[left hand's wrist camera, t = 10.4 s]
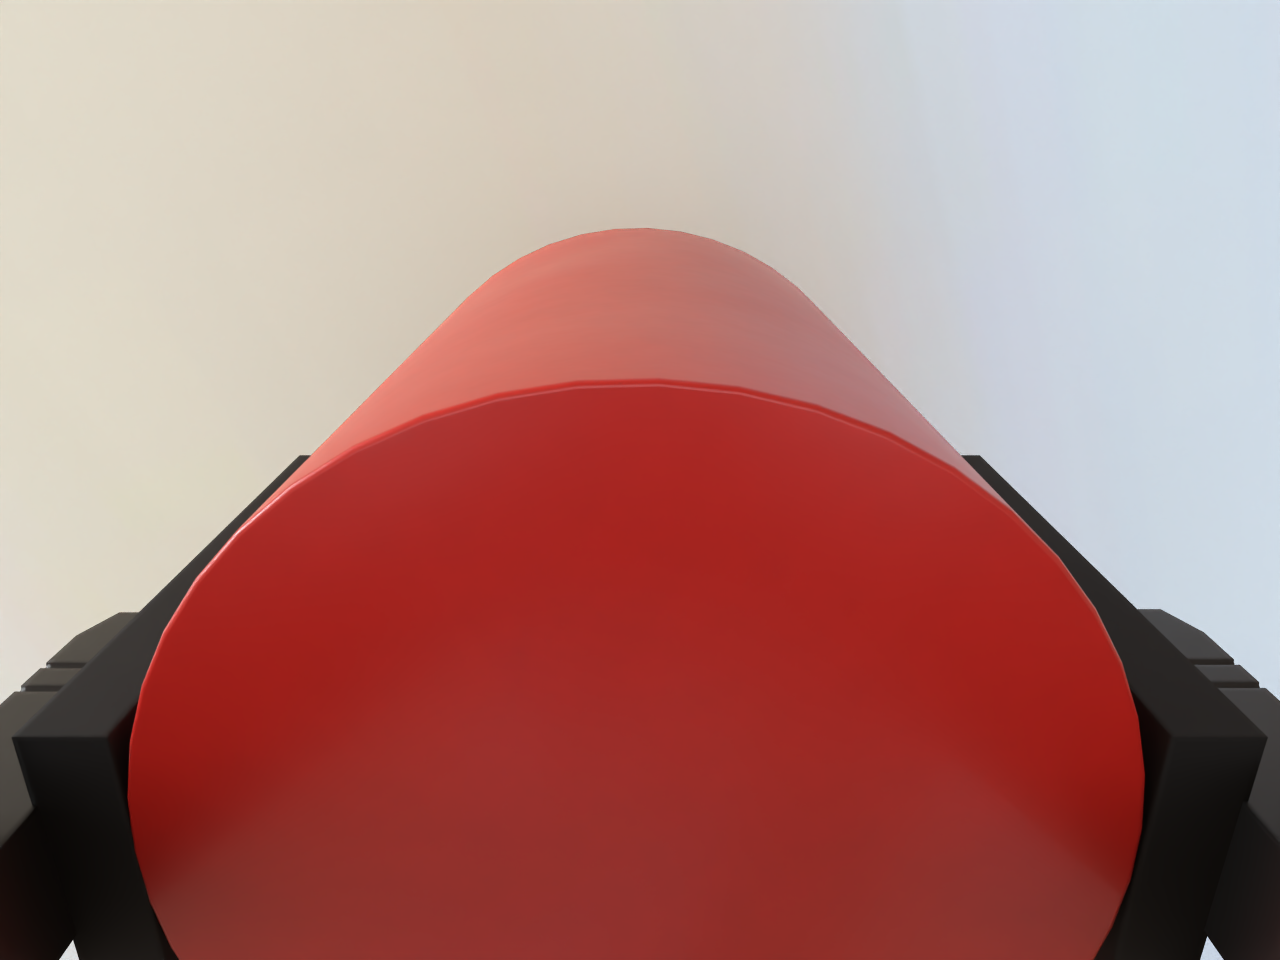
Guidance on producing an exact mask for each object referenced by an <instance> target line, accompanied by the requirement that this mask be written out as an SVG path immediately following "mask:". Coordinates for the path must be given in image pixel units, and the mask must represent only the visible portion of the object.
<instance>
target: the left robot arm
mask: <svg viewBox="0 0 1280 960" xmlns="http://www.w3.org/2000/svg"><path fill="white" fill-rule="evenodd" d="M310 456H311V455H300V456H299V457H298V458H297V459H296V460H295V461H293V462H292V463H291V464H290V465H289V466H288V467H287V468H286V469H285V470H284V471H283V472H282V473H281V474H280V475H279V476H278V477H277V478H276V479H275V480H274V481H273V482H272V483H271V484H270V485H269V486H268V487H267V488H266V489H265V490H264V491H263V492H262V493H261V494H260V495H259V496H258V497H257V498H256V499H255V500H254V501H253V502H252V503H250V504H249V505H248V506H247V507H246V508H245V509H244V510H243V511H242V512H241V513H240V514H239V515H238V516H237V517H236V518H235V519H234V520H233V521H232V522H231V523H230V524H229V525H228V526H227V527H226V528H225V529H224V530H223V531H222V532H221V533H220V534H219V535H218V536H217V537H216V538H215V539H214V540H213V541H212V542H211V543H210V544H209V545H207V546H206V547H205V548H204V549H203V550H202V551H201V552H200V553H199V554H198V555H197V556H196V557H195V558H194V559H193V560H192V561H191V562H190V563H189V564H188V565H187V566H186V567H185V568H184V569H183V570H182V571H181V572H180V573H179V574H178V575H177V576H176V577H175V578H174V579H173V580H172V581H171V582H170V583H169V584H168V585H167V586H166V587H164V588H163V589H162V590H161V591H160V592H159V593H158V594H157V595H156V596H155V597H154V598H153V599H152V600H151V601H150V602H149V603H148V604H147V605H146V606H145V607H144V608H143V609H142V610H141V611H140V612H139V613H118V614H116V615H114V616H112V617H110V618H108V619H106V620H105V621H103V622H101V623H99V624H97V625H95V626H93V627H92V628H90V629H88V630H86V631H84V632H82V633H80V634H79V635H77V636H75V637H74V638H73V639H72V640H71V641H70V642H69V643H68V644H67V645H66V646H64V647H63V648H62V649H61V650H60V651H59V652H58V653H57V654H56V655H55V656H53V657H52V658H51V659H50V660H49V661H48V662H47V663H46V668H40V669H39V670H38V671H37V672H36V673H35V674H34V675H33V676H31V677H30V678H29V679H28V680H27V681H26V682H25V683H24V684H23V685H22V686H21V691H20V692H14V693H13V694H12V695H11V696H9V697H8V698H7V699H6V700H5V701H4V702H3V703H2V704H1V705H0V960H59V959H60V958H61V956H62V955H63V953H64V952H65V950H66V949H67V948H68V946H69V945H70V943H71V942H72V940H73V941H74V944H75V947H76V951H77V954H78V957H79V960H179V959H178V957H177V956H176V954H175V953H174V951H173V950H172V948H171V946H170V944H169V942H168V940H167V938H166V936H165V934H164V931H163V929H162V927H161V925H160V923H159V921H158V919H157V917H156V914H155V912H154V910H153V908H152V906H151V904H150V901H149V897H148V894H147V890H146V887H145V883H144V880H143V877H142V873H141V870H140V866H139V863H138V860H137V856H136V853H135V848H134V840H133V835H132V830H131V822H130V814H129V807H128V799H127V795H128V770H129V745H130V738H131V733H132V729H133V724H134V719H135V715H136V710H137V705H138V701H139V696H140V691H141V687H142V684H143V681H144V679H145V676H146V674H147V671H148V669H149V666H150V664H151V661H152V659H153V656H154V654H155V651H156V649H157V646H158V644H159V641H160V639H161V636H162V634H163V631H164V629H165V628H166V626H167V625H168V623H169V621H170V620H171V618H172V616H173V615H174V613H175V611H176V610H177V608H178V607H179V605H180V603H181V602H182V600H183V598H184V597H185V595H186V593H187V592H188V590H189V589H190V587H191V585H192V584H193V582H194V580H195V579H196V577H197V576H198V575H199V574H200V573H201V572H202V570H203V569H204V568H205V567H206V566H207V565H208V563H209V562H210V561H211V560H212V559H213V558H214V557H215V555H216V554H217V553H218V552H219V551H220V550H221V548H222V547H223V546H224V545H225V544H226V543H227V541H228V540H229V539H230V538H231V537H232V536H233V534H234V533H235V532H236V531H237V530H238V529H239V528H240V527H241V526H242V525H243V524H244V523H245V522H246V521H247V520H248V519H249V518H250V517H251V516H252V515H253V514H254V513H255V512H256V510H257V509H258V508H259V507H260V506H261V505H262V504H263V503H264V502H265V501H266V500H267V499H268V498H269V497H270V496H271V495H272V494H273V493H274V492H275V491H276V490H277V489H278V488H279V487H280V486H281V485H282V484H283V483H284V482H285V481H286V480H287V479H288V478H289V477H290V476H291V475H292V474H293V473H294V472H295V471H296V470H297V469H298V468H299V467H300V466H301V465H302V464H303V463H304V462H305V461H306V460H307V459H308V458H309V457H310ZM961 456H962V457H963V458H964V459H965V460H966V461H967V462H968V463H969V464H970V466H971V467H972V468H973V469H974V470H975V471H976V472H977V473H978V474H979V475H980V476H981V477H982V478H983V479H984V480H985V481H986V482H987V483H988V484H989V485H990V486H991V487H992V488H993V489H994V490H995V491H996V492H997V493H998V494H999V495H1000V497H1001V498H1002V499H1003V500H1004V501H1005V502H1006V503H1007V504H1008V505H1009V506H1010V507H1011V508H1012V509H1013V510H1014V511H1015V512H1016V513H1017V514H1018V515H1019V516H1020V517H1021V518H1022V519H1023V520H1024V521H1025V522H1026V523H1027V524H1028V525H1029V526H1030V528H1031V529H1032V530H1033V531H1034V532H1035V533H1036V534H1037V535H1038V536H1039V537H1040V538H1041V539H1042V540H1043V541H1044V542H1045V543H1046V544H1047V545H1048V546H1049V547H1050V548H1051V549H1052V550H1053V551H1054V552H1055V553H1056V554H1057V555H1058V556H1059V558H1060V559H1061V561H1062V562H1063V563H1064V565H1065V566H1066V568H1067V569H1068V570H1069V572H1070V573H1071V575H1072V576H1073V577H1074V579H1075V580H1076V582H1077V583H1078V584H1079V586H1080V587H1081V589H1082V590H1083V591H1084V593H1085V594H1086V596H1087V597H1088V598H1089V600H1090V601H1091V603H1092V604H1093V605H1094V607H1095V608H1096V610H1097V612H1098V614H1099V616H1100V618H1101V620H1102V622H1103V624H1104V626H1105V628H1106V631H1107V633H1108V635H1109V637H1110V639H1111V641H1112V643H1113V645H1114V647H1115V649H1116V651H1117V653H1118V655H1119V657H1120V659H1121V661H1122V664H1123V667H1124V671H1125V674H1126V677H1127V681H1128V684H1129V688H1130V691H1131V694H1132V698H1133V701H1134V704H1135V708H1136V711H1137V715H1138V720H1139V728H1140V737H1141V745H1142V754H1143V762H1144V771H1145V783H1144V802H1143V821H1142V831H1141V836H1140V840H1139V845H1138V849H1137V854H1136V858H1135V863H1134V867H1133V872H1132V876H1131V880H1130V883H1129V885H1128V888H1127V891H1126V893H1125V896H1124V898H1123V901H1122V903H1121V906H1120V908H1119V911H1118V914H1117V916H1116V919H1115V921H1114V924H1113V926H1112V929H1111V930H1110V932H1109V934H1108V936H1107V937H1106V939H1105V941H1104V943H1103V944H1102V946H1101V948H1100V950H1099V951H1098V953H1097V955H1096V957H1095V958H1094V960H1200V958H1201V955H1202V952H1203V948H1204V945H1205V942H1206V938H1207V936H1208V938H1209V939H1210V941H1211V942H1212V943H1213V945H1214V946H1215V948H1216V949H1217V951H1218V952H1219V953H1220V955H1221V956H1222V958H1223V959H1224V960H1280V701H1279V700H1278V699H1277V698H1276V697H1275V696H1274V695H1273V694H1272V693H1270V692H1269V691H1268V690H1267V689H1266V688H1260V687H1259V682H1258V681H1257V680H1256V679H1255V678H1254V677H1253V676H1252V675H1250V674H1249V673H1248V672H1247V671H1246V670H1245V669H1244V668H1243V667H1242V666H1240V665H1234V659H1233V658H1232V657H1231V656H1229V655H1228V654H1227V653H1226V652H1225V651H1224V650H1223V649H1222V648H1221V647H1219V646H1218V645H1217V644H1216V643H1215V642H1214V641H1213V640H1212V639H1211V638H1209V637H1208V636H1207V635H1206V634H1205V633H1204V632H1202V631H1200V630H1198V629H1196V628H1195V627H1193V626H1191V625H1189V624H1187V623H1185V622H1183V621H1181V620H1180V619H1178V618H1176V617H1174V616H1172V615H1170V614H1168V613H1166V612H1165V611H1163V610H1161V609H1136V608H1135V607H1134V606H1133V605H1132V604H1131V603H1130V602H1129V601H1128V600H1127V599H1126V598H1125V597H1124V596H1123V595H1122V594H1121V593H1120V592H1119V591H1118V590H1117V589H1116V588H1115V587H1114V586H1113V585H1112V584H1111V583H1110V582H1109V581H1108V580H1107V579H1106V578H1105V577H1104V576H1103V575H1102V574H1101V573H1099V572H1098V571H1097V570H1096V569H1095V568H1094V567H1093V566H1092V565H1091V564H1090V563H1089V562H1088V561H1087V560H1086V559H1085V558H1084V557H1083V556H1082V555H1081V554H1080V553H1079V552H1078V551H1077V550H1076V549H1075V548H1074V547H1073V546H1072V545H1071V544H1070V543H1069V542H1068V541H1067V540H1066V539H1065V538H1064V537H1063V536H1062V535H1061V534H1060V533H1059V532H1058V531H1057V530H1055V529H1054V528H1053V527H1052V526H1051V525H1050V524H1049V523H1048V522H1047V521H1046V520H1045V519H1044V518H1043V517H1042V516H1041V515H1040V514H1039V513H1038V512H1037V511H1036V510H1035V509H1034V508H1033V507H1032V506H1031V505H1030V504H1029V503H1028V502H1027V501H1026V500H1025V499H1024V498H1023V497H1022V496H1021V495H1020V494H1019V493H1018V492H1017V491H1016V490H1015V489H1014V488H1012V487H1011V486H1010V485H1009V484H1008V483H1007V482H1006V481H1005V480H1004V479H1003V478H1002V477H1001V476H1000V475H999V474H998V473H997V472H996V471H995V470H994V469H993V468H992V467H991V466H990V465H989V464H988V463H987V462H986V461H985V460H984V459H983V458H982V457H981V456H980V455H961Z"/></svg>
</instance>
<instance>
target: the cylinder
mask: <svg viewBox="0 0 1280 960" xmlns="http://www.w3.org/2000/svg"><path fill="white" fill-rule="evenodd" d="M1144 783H1145V771H1144V762H1143V754H1142V745H1141V737H1140V728H1139V720H1138V715H1137V711H1136V708H1135V704H1134V701H1133V698H1132V694H1131V691H1130V688H1129V684H1128V681H1127V677H1126V674H1125V671H1124V667H1123V664H1122V661H1121V659H1120V657H1119V655H1118V653H1117V651H1116V649H1115V647H1114V645H1113V643H1112V641H1111V639H1110V637H1109V635H1108V633H1107V631H1106V628H1105V626H1104V624H1103V622H1102V620H1101V618H1100V616H1099V614H1098V612H1097V610H1096V608H1095V607H1094V605H1093V604H1092V603H1091V601H1090V600H1089V598H1088V597H1087V596H1086V594H1085V593H1084V591H1083V590H1082V589H1081V587H1080V586H1079V584H1078V583H1077V582H1076V580H1075V579H1074V577H1073V576H1072V575H1071V573H1070V572H1069V570H1068V569H1067V568H1066V566H1065V565H1064V563H1063V562H1062V561H1061V559H1060V558H1059V556H1058V555H1057V554H1056V553H1055V552H1054V551H1053V550H1052V549H1051V548H1050V547H1049V546H1048V545H1047V544H1046V543H1045V542H1044V541H1043V540H1042V539H1041V538H1040V537H1039V536H1038V535H1037V534H1036V533H1035V532H1034V531H1033V530H1032V529H1031V528H1030V526H1029V525H1028V524H1027V523H1026V522H1025V521H1024V520H1023V519H1022V518H1021V517H1020V516H1019V515H1018V514H1017V513H1016V512H1015V511H1014V510H1013V509H1012V508H1011V507H1010V506H1009V505H1008V504H1007V503H1006V502H1005V501H1004V500H1003V499H1002V498H1001V497H1000V495H999V494H998V493H997V492H996V491H995V490H994V489H993V488H992V487H991V486H990V485H989V484H988V483H987V482H986V481H985V480H984V479H983V478H982V477H981V476H980V475H979V474H978V473H977V472H976V471H975V470H974V469H973V468H972V467H971V466H970V464H969V463H968V462H967V461H966V460H965V459H964V458H963V457H962V456H961V455H960V454H959V453H958V452H957V451H956V450H955V449H954V448H953V447H952V446H951V445H950V444H949V443H948V442H947V441H946V440H945V439H944V438H943V437H942V436H941V435H940V433H939V432H938V431H937V430H936V429H935V428H934V427H933V426H932V425H931V424H930V423H929V422H928V421H927V420H926V419H925V418H924V417H923V416H922V415H921V414H920V413H919V412H918V411H917V410H916V409H915V408H914V407H913V406H912V405H911V404H910V402H909V401H908V400H907V399H906V398H905V397H904V396H903V395H902V394H901V393H900V392H899V391H898V390H897V389H896V388H895V387H894V386H893V385H892V384H891V383H890V382H889V381H888V380H887V379H886V378H885V377H884V376H883V375H882V374H881V373H880V371H879V370H878V369H877V368H876V367H875V366H874V365H873V364H872V363H871V362H870V361H869V360H868V359H867V358H866V357H865V356H864V355H863V354H862V353H861V352H860V351H859V350H858V349H857V348H856V347H855V346H854V345H853V344H852V343H851V342H850V340H849V339H848V338H847V337H846V336H845V335H844V334H843V333H842V332H841V331H840V330H839V329H838V328H837V327H836V326H835V325H834V324H833V323H832V322H831V321H830V320H829V319H828V318H827V317H826V316H825V315H824V314H823V313H822V312H821V311H820V310H819V308H818V307H817V306H816V305H815V304H814V303H813V302H812V301H811V300H810V299H809V298H808V297H807V296H806V295H805V294H804V293H803V292H802V291H801V290H800V289H799V288H798V287H797V286H795V285H794V284H793V283H791V282H790V281H789V280H787V279H786V278H785V277H783V276H782V275H781V274H780V273H778V272H777V271H776V270H774V269H773V268H772V267H770V266H768V265H766V264H764V263H763V262H761V261H759V260H757V259H756V258H754V257H752V256H750V255H749V254H747V253H745V252H743V251H740V250H738V249H735V248H733V247H730V246H728V245H725V244H723V243H720V242H718V241H715V240H712V239H708V238H704V237H700V236H696V235H692V234H688V233H684V232H679V231H669V230H660V229H651V228H636V229H612V230H606V231H600V232H594V233H588V234H582V235H578V236H575V237H572V238H569V239H565V240H562V241H559V242H556V243H552V244H549V245H547V246H545V247H543V248H541V249H539V250H536V251H534V252H532V253H530V254H528V255H526V256H524V257H521V258H519V259H518V260H516V261H515V262H513V263H512V264H510V265H509V266H507V267H506V268H504V269H502V270H501V271H499V272H498V273H496V274H495V275H493V276H492V277H491V278H490V279H488V280H487V281H486V282H485V283H484V284H483V285H481V286H480V287H479V288H478V289H477V290H476V291H475V292H473V293H472V294H471V295H470V296H469V297H468V298H467V299H466V300H465V301H464V302H463V303H462V304H461V305H460V306H459V307H458V308H457V309H456V310H455V311H454V312H453V313H452V314H451V315H450V316H449V317H448V318H447V319H446V320H445V321H444V322H443V323H442V324H441V325H440V326H439V327H438V328H437V329H436V330H435V331H434V332H433V333H432V334H431V335H430V336H429V337H428V338H427V339H426V340H425V341H424V342H423V343H422V344H421V345H420V346H419V347H418V348H417V349H416V350H415V351H414V352H413V353H412V354H411V355H410V356H409V357H408V358H407V359H406V360H405V361H404V362H403V363H402V364H401V365H400V366H399V367H398V368H397V369H396V370H395V371H394V372H393V373H392V374H391V375H390V376H389V377H388V378H387V379H386V380H385V381H384V382H383V383H382V384H381V385H380V386H379V387H378V388H377V389H376V390H375V391H374V393H373V394H372V395H371V396H370V397H369V398H368V399H367V400H366V401H365V402H364V403H363V404H362V405H361V406H360V407H359V408H358V409H357V410H356V411H355V412H354V413H353V414H352V415H351V416H350V417H349V418H348V419H347V420H346V421H345V422H344V423H343V424H342V425H341V426H340V427H339V428H338V429H337V430H336V431H335V432H334V433H333V434H332V435H331V436H330V437H329V438H328V439H327V440H326V441H325V442H324V443H323V444H322V445H321V446H320V447H319V448H318V449H317V450H316V451H315V452H314V453H313V454H312V455H311V456H310V457H309V458H308V459H307V460H306V461H305V462H304V463H303V464H302V465H301V466H300V467H299V468H298V469H297V470H296V471H295V472H294V473H293V474H292V475H291V476H290V477H289V478H288V479H287V480H286V481H285V482H284V483H283V484H282V485H281V486H280V487H279V488H278V489H277V490H276V491H275V492H274V493H273V494H272V495H271V496H270V497H269V498H268V499H267V500H266V501H265V502H264V503H263V504H262V505H261V506H260V507H259V508H258V509H257V510H256V512H255V513H254V514H253V515H252V516H251V517H250V518H249V519H248V520H247V521H246V522H245V523H244V524H243V525H242V526H241V527H240V528H239V529H238V530H237V531H236V532H235V533H234V534H233V536H232V537H231V538H230V539H229V540H228V541H227V543H226V544H225V545H224V546H223V547H222V548H221V550H220V551H219V552H218V553H217V554H216V555H215V557H214V558H213V559H212V560H211V561H210V562H209V563H208V565H207V566H206V567H205V568H204V569H203V570H202V572H201V573H200V574H199V575H198V576H197V577H196V579H195V580H194V582H193V584H192V585H191V587H190V589H189V590H188V592H187V593H186V595H185V597H184V598H183V600H182V602H181V603H180V605H179V607H178V608H177V610H176V611H175V613H174V615H173V616H172V618H171V620H170V621H169V623H168V625H167V626H166V628H165V629H164V631H163V634H162V636H161V639H160V641H159V644H158V646H157V649H156V651H155V654H154V656H153V659H152V661H151V664H150V666H149V669H148V671H147V674H146V676H145V679H144V681H143V684H142V687H141V691H140V696H139V701H138V705H137V710H136V715H135V719H134V724H133V729H132V733H131V738H130V745H129V770H128V795H127V799H128V807H129V814H130V822H131V830H132V835H133V840H134V848H135V853H136V856H137V860H138V863H139V866H140V870H141V873H142V877H143V880H144V883H145V887H146V890H147V894H148V897H149V901H150V904H151V906H152V908H153V910H154V912H155V914H156V917H157V919H158V921H159V923H160V925H161V927H162V929H163V931H164V934H165V936H166V938H167V940H168V942H169V944H170V946H171V948H172V950H173V951H174V953H175V954H176V956H177V957H178V959H179V960H1094V958H1095V957H1096V955H1097V953H1098V951H1099V950H1100V948H1101V946H1102V944H1103V943H1104V941H1105V939H1106V937H1107V936H1108V934H1109V932H1110V930H1111V929H1112V926H1113V924H1114V921H1115V919H1116V916H1117V914H1118V911H1119V908H1120V906H1121V903H1122V901H1123V898H1124V896H1125V893H1126V891H1127V888H1128V885H1129V883H1130V880H1131V876H1132V872H1133V867H1134V863H1135V858H1136V854H1137V849H1138V845H1139V840H1140V836H1141V831H1142V821H1143V802H1144Z"/></svg>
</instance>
